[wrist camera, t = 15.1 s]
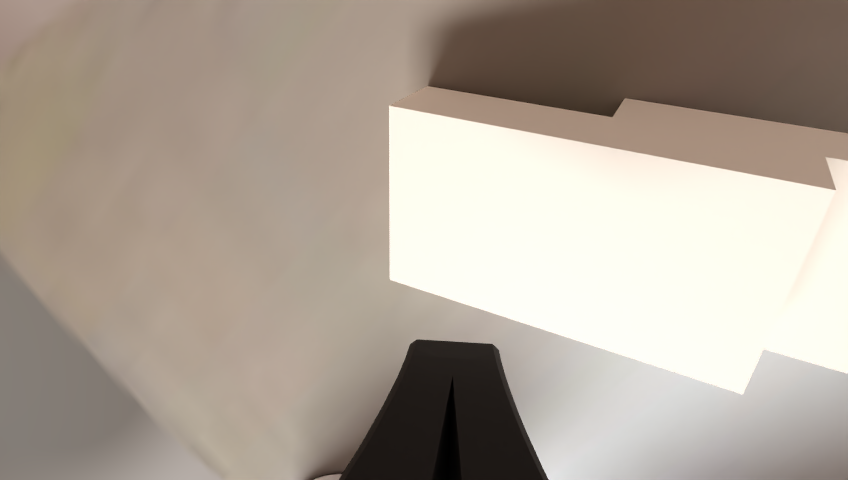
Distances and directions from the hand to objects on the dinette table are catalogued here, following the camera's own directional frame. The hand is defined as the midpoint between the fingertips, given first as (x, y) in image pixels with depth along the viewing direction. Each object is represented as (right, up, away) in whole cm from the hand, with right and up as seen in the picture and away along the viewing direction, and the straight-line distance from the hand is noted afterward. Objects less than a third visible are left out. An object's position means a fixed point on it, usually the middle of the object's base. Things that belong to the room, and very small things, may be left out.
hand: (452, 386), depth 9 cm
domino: (-1, +4, +6) cm, 7 cm away
